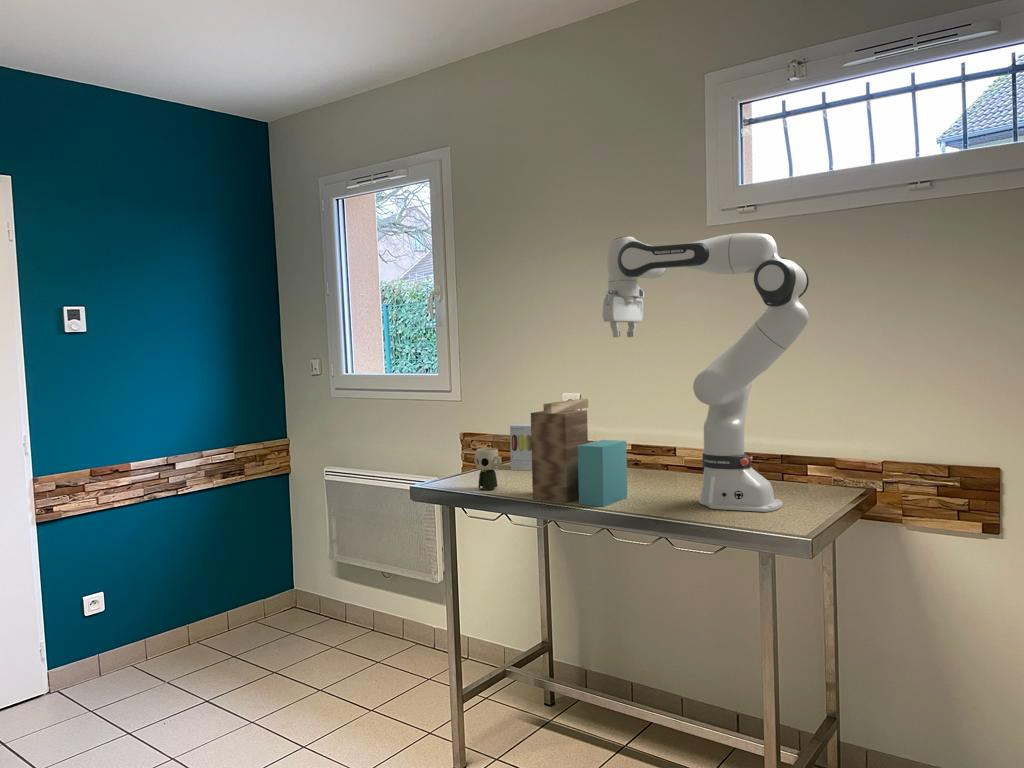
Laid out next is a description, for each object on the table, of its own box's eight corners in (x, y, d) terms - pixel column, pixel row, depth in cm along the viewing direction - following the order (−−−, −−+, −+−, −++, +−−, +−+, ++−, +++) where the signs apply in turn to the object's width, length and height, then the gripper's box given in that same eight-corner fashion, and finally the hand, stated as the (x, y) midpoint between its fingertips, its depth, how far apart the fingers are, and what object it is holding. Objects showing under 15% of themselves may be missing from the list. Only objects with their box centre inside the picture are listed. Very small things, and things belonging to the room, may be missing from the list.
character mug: (468, 489, 252) (467, 449, 252) (483, 485, 258) (482, 447, 257) (492, 492, 245) (491, 451, 245) (507, 489, 251) (506, 449, 250)
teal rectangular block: (627, 497, 232) (626, 440, 231) (603, 506, 220) (602, 447, 219) (603, 495, 236) (602, 439, 236) (579, 504, 224) (577, 445, 223)
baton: (588, 407, 246) (588, 398, 246) (551, 413, 228) (551, 404, 228) (580, 407, 247) (580, 398, 247) (543, 413, 229) (543, 403, 229)
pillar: (588, 495, 237) (587, 410, 236) (567, 502, 226) (565, 414, 225) (555, 491, 244) (553, 409, 243) (532, 499, 233) (530, 412, 232)
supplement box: (509, 470, 289) (508, 425, 288) (515, 466, 298) (514, 422, 297) (535, 470, 287) (534, 425, 286) (539, 466, 296) (538, 422, 295)
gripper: (616, 289, 224) (617, 336, 225) (646, 292, 241) (647, 336, 242) (596, 290, 228) (597, 337, 229) (628, 293, 245) (629, 337, 245)
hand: (623, 337), depth 235 cm, fingers open, 8 cm apart
